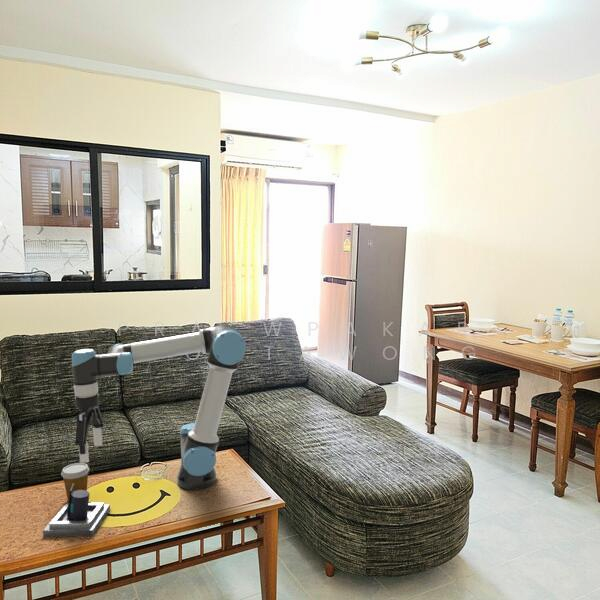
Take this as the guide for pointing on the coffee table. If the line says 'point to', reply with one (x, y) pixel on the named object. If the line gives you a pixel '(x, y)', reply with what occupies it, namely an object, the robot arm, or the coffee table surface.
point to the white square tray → (77, 522)
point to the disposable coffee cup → (75, 477)
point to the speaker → (78, 504)
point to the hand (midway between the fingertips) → (91, 453)
